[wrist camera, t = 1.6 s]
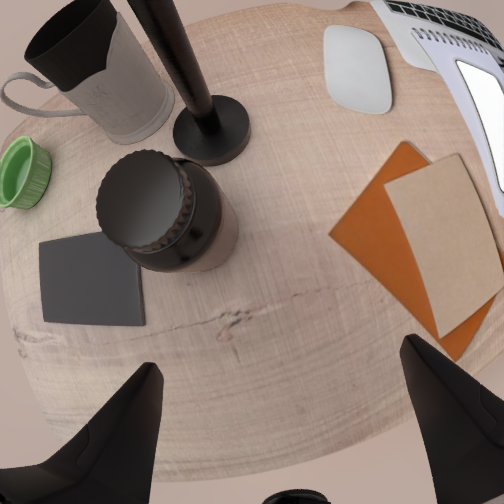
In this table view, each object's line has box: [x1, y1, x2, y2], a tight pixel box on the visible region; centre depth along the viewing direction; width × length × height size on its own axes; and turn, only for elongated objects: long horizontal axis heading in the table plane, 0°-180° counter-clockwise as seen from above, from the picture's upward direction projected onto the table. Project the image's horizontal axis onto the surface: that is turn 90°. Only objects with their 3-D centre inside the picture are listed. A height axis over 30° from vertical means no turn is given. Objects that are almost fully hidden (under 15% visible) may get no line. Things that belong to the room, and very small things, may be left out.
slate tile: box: [39, 231, 145, 326], centre depth 24 cm, size 9×14×1 cm, turn 95°
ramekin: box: [0, 136, 51, 209], centre depth 24 cm, size 9×9×4 cm
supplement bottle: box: [96, 149, 239, 273], centre depth 17 cm, size 7×7×12 cm
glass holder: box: [0, 0, 174, 145], centre depth 18 cm, size 9×14×15 cm, turn 103°
